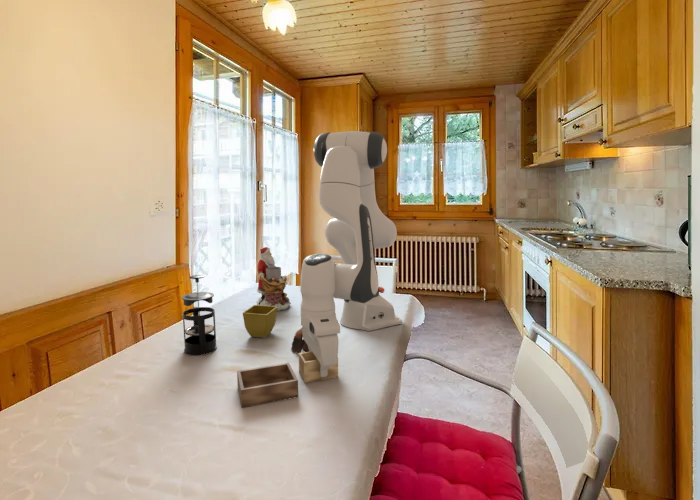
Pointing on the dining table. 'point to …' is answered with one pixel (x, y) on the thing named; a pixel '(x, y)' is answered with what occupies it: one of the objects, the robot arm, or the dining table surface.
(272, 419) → the dining table surface
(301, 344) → the pottery mug
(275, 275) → the santa figurine
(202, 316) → the french press
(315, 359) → the small crate
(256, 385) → the big crate
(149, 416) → the dining table surface
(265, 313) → the flower pot
